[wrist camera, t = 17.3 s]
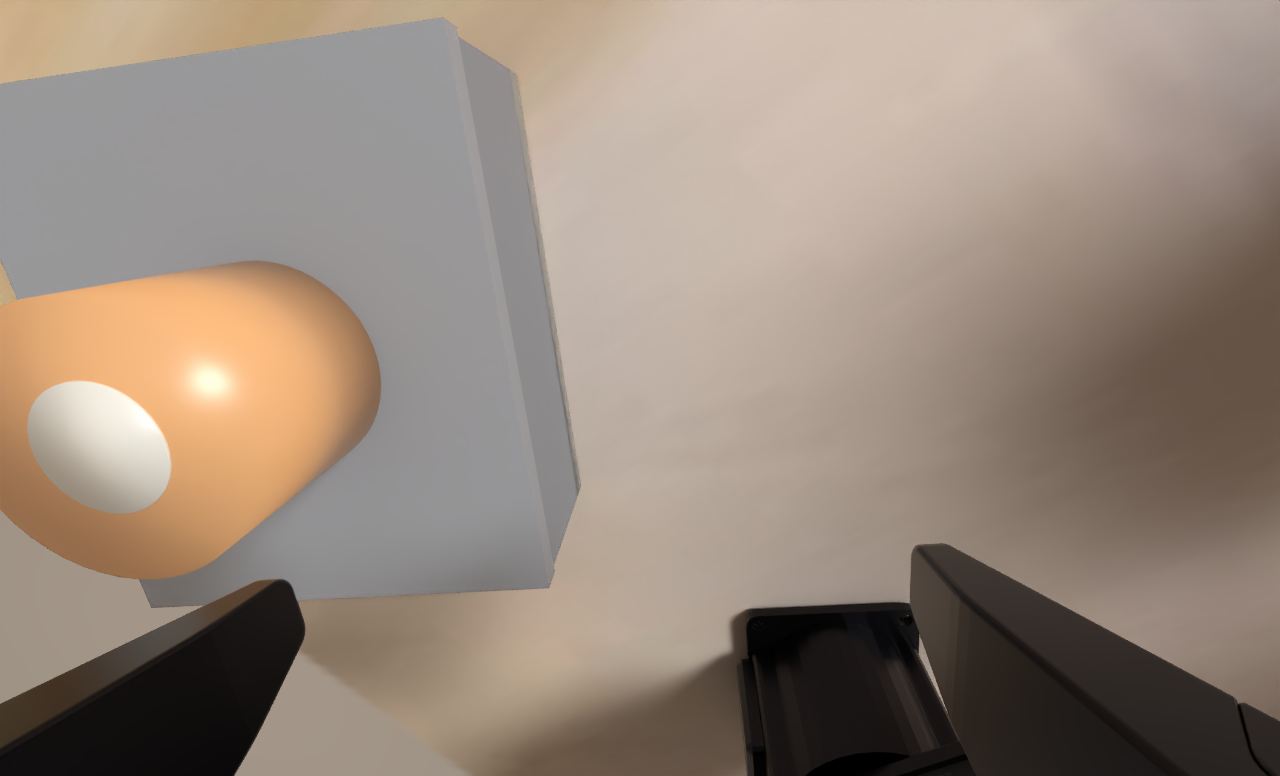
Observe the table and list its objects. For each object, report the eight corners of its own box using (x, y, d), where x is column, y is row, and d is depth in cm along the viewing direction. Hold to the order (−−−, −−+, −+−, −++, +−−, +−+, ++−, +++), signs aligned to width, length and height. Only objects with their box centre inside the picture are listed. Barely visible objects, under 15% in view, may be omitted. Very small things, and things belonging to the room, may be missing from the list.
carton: (516, 73, 18) (457, 36, 14) (580, 486, 23) (553, 565, 18) (155, 123, 20) (-12, 105, 15) (282, 505, 24) (184, 585, 19)
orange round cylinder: (350, 249, 15) (190, 280, 10) (402, 460, 16) (286, 574, 12) (138, 271, 15) (-113, 311, 10) (210, 473, 17) (23, 588, 12)
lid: (456, 26, 14) (443, 17, 13) (554, 571, 18) (549, 588, 17) (-34, 99, 15) (-71, 94, 14) (172, 591, 19) (151, 607, 19)
